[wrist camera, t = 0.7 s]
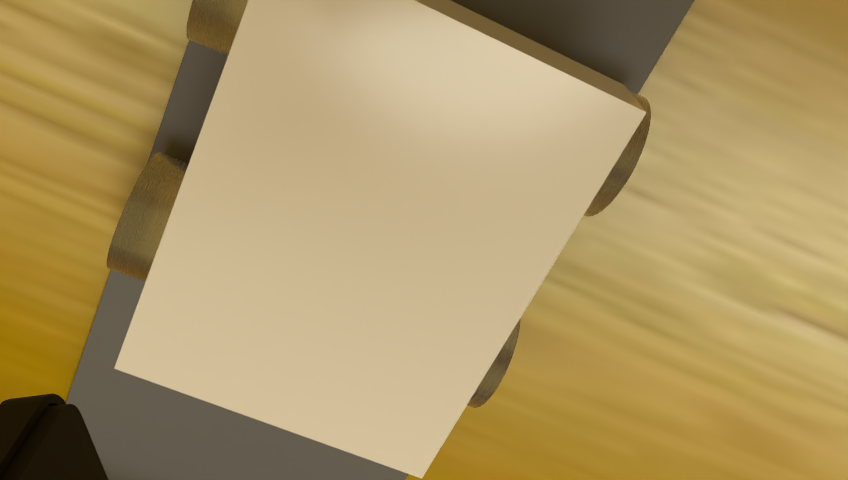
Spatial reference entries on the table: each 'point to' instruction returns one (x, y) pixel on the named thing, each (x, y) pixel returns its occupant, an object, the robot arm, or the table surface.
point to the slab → (370, 218)
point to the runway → (247, 437)
